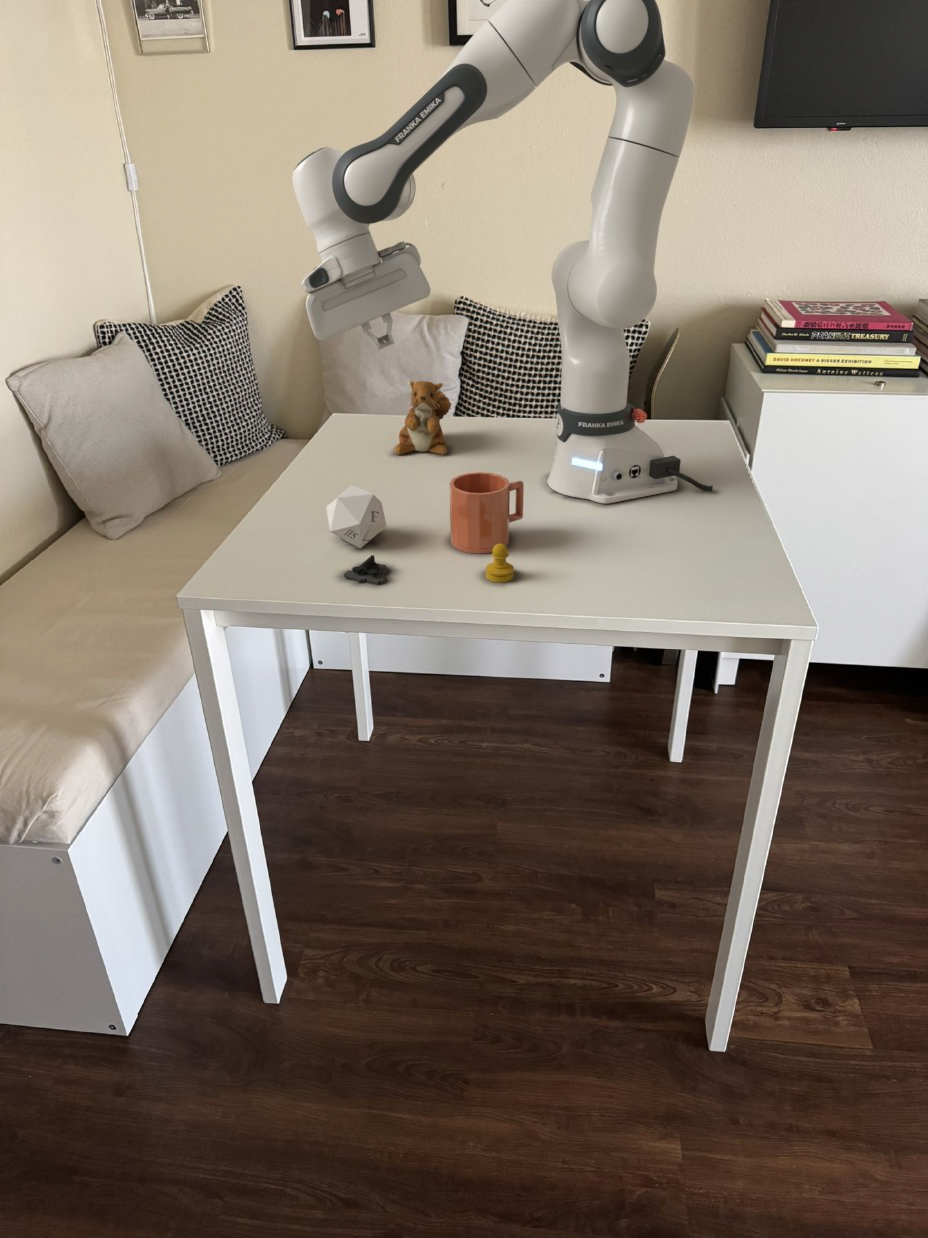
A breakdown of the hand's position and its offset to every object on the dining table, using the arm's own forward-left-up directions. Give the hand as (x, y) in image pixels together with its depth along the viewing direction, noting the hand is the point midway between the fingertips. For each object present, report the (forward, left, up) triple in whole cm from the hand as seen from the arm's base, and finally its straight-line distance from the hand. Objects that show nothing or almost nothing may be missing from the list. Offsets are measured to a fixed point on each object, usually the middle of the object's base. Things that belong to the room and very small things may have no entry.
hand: (386, 346), depth 147 cm
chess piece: (-9, +39, -24) cm, 47 cm away
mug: (-11, +27, -24) cm, 37 cm away
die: (+9, +22, -24) cm, 34 cm away
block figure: (+9, +34, -24) cm, 43 cm away
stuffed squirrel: (-9, -18, -24) cm, 31 cm away
